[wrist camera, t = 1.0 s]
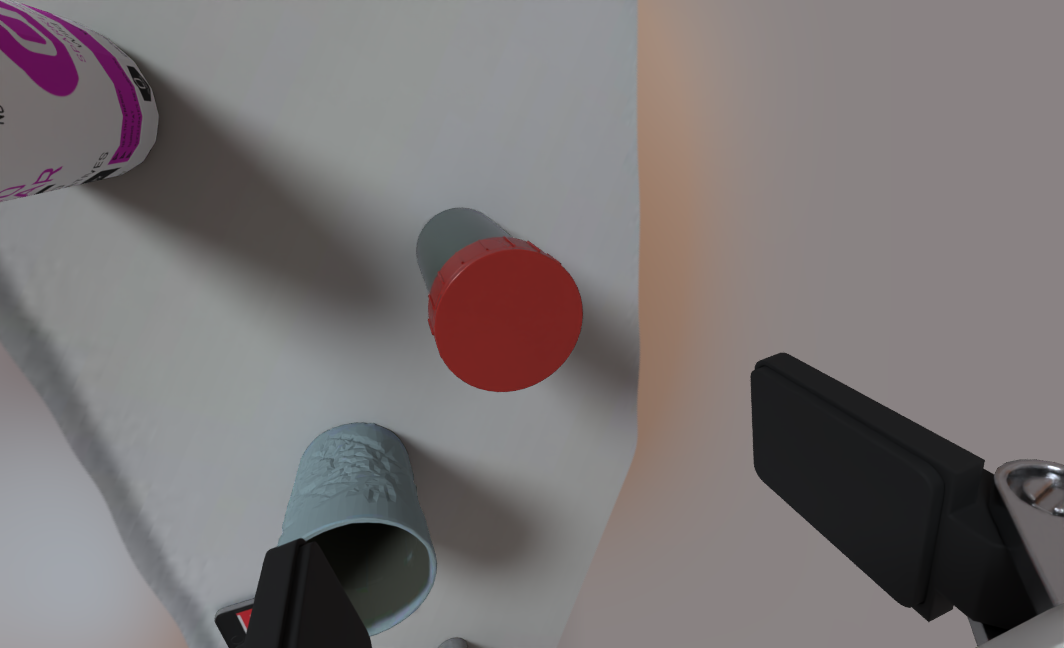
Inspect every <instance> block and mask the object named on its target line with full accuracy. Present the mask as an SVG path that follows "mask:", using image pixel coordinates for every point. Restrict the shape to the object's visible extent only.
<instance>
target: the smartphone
mask: <svg viewBox="0 0 1064 648" xmlns="http://www.w3.org/2000/svg"><path fill="white" fill-rule="evenodd" d="M254 599H255V598H254ZM254 599H251V600H247V601H244V602H241V603H238V604H234V605H231V606H228V607H225V608H222V609H220V610H219V611H218V612H217V613H216V616H215V623H216V625H217V627H218V629H219V631H220V632H221V634H222V636H223V638H224V640H225V642H226V644H227V645H228V647H229V648H236V647H237V646H238V645H241V644H243V643H244V640H245V636H246V632H247V628H248V624H249V620H250V616H251V612H252V607H253V603H254Z"/></svg>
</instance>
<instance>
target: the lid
mask: <svg viewBox="0 0 1064 648" xmlns="http://www.w3.org/2000/svg"><path fill="white" fill-rule="evenodd" d="M437 273H438V274H437V276H436V278H435V280H434V282H433V285H432V288H431V291H430V295H428V298H429V303H428V313H429V319H428V323H429V326H430V329H431V333H432V335H434V338H435V341H436V345H437V348H438V350H439V353H440V357H441V358H442V359H443V361H444V363H445V364H446V365H447V367H448V368H449V369H450V370H451V371H452V372H453V373H454V374H455V375H456V376H457V377H458V378H460V379H461V380H462V381H464V382H466V383H467V384H469V385H471V386H474V387H476V388H479V389H483V390H487V391H494V392H509V391H516V390H520V389H525V388H527V387H530V386H533V385H535V384H537V383H539V382H541V381H543V380H544V379H546V378H547V377H549V376H550V375H551V374H553V373H554V372H555V371H556V370H557V369H558V368H559V367H560V366H561V365H562V364H563V363H564V362H565V361H566V359H567V358H568V357H569V355H570V354H571V352H572V350H573V349H574V347H575V345H576V343H577V340H578V337H579V334H580V331H581V326H582V318H583V309H582V301H581V296H580V293H579V290H578V287H577V285H576V284H575V282H574V280H573V278H572V277H571V276H570V274H569V273H568V272H567V271H566V270H565V268H564V267H563V266H561V263H560V262H558V261H557V260H556V259H554V258H553V257H552V256H550V255H549V254H548V253H547V254H546V253H544V252H543V251H542V250H540V249H539V248H538V247H536V246H535V245H534V244H532V243H531V242H530V241H527V242H526V241H523V240H520V239H516V238H510V237H506V236H503V237H493V238H487V239H483V240H480V239H479V240H478V241H476V242H474V243H472V244H470V245H467V246H466V247H464V248H462V249H461V250H459V251H458V252H455V254H454V255H453V256H452V257H451V258H450V259H449V260H448V261H447V262H446V263H445V264H444V265H443V267H442V268H441V270H440V271H438V272H437Z"/></svg>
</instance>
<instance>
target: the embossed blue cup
mask: <svg viewBox="0 0 1064 648" xmlns="http://www.w3.org/2000/svg"><path fill="white" fill-rule="evenodd" d="M413 480H414V476H413V472H412V468H411V464H410V461H409V457H408V454H407V451H406V449H405V447H404V445H403V443H402V442H401V441H400V439H399V438H398V437H397V436H396V435H395V434H394V433H393V432H392V431H390V430H388V429H386V428H384V427H382V426H377V425H376V424H373V423H369V424H366V423H364V422H363V423H351V424H345V425H341V426H338V427H335V428H332V429H331V430H327V431H326V432H324V433H322V434H321V435H319V436H318V437H317V438H316V439H315V440H314V441H313V442H312V443H311V444H310V445H309V446H308V448H307V449H306V451H305V452H304V454H303V456H302V458H301V461H300V464H299V468H298V471H297V475H296V479H295V483H294V487H293V490H292V493H291V497H290V501H289V503H288V506H287V511H286V514H285V519H284V522H283V525H282V530H283V534H282V535H281V537H280V538H279V541H278V546H280V545H283V544H286V543H288V542H291V541H293V540H296V539H299V538H303V539H304V540H305V541H306V542H307V544H308V543H311V542H314V541H315V542H316V543H317V544H318V545H319V546H320V548H321V550H322V552H323V553H324V555H325V557H326V559H327V560H328V562H329V564H330V566H331V568H332V569H333V571H334V573H335V575H336V576H337V578H338V580H339V582H340V583H341V585H342V587H343V589H344V590H345V592H346V594H347V596H348V597H349V599H350V601H351V603H352V604H353V606H354V608H355V610H356V611H357V613H358V615H359V617H360V619H361V620H362V622H363V624H364V626H365V627H366V629H367V631H368V633H369V636H373V635H377V634H379V633H381V632H383V631H386V630H388V629H390V628H392V627H393V626H395V625H397V624H399V623H400V622H402V621H403V620H405V619H406V618H407V617H409V616H410V615H411V614H412V613H413V612H414V611H415V610H416V609H417V608H419V606H420V605H421V604H422V603H423V602H424V600H425V599H426V597H427V596H428V594H429V592H430V590H431V589H432V587H433V585H434V581H435V577H436V571H437V560H436V554H435V551H434V548H433V544H432V541H431V538H430V534H429V531H428V527H427V523H426V519H425V516H424V514H423V511H422V509H421V507H420V505H419V502H418V498H417V489H416V485H415V484H414V482H413ZM278 546H277V547H278Z"/></svg>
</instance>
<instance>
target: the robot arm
mask: <svg viewBox="0 0 1064 648" xmlns="http://www.w3.org/2000/svg"><path fill="white" fill-rule="evenodd" d="M751 402H752V428H753V451H754V452H753V455H754V467H755V470H756V472H757V474H758V476H759V477H760V479H761V480H762V481H763V482H764V483H765V484H766V485H767V486H769V487H770V488H771V489H772V490H773V491H774V492H775V493H776V494H777V495H779V496H780V497H781V498H782V499H783V500H784V501H785V502H786V503H788V504H789V505H790V506H791V507H792V508H793V509H794V510H795V511H796V512H798V513H799V514H800V515H801V516H802V517H803V518H804V519H805V520H806V521H808V522H809V523H810V524H811V525H812V526H813V527H814V528H815V529H816V530H818V531H819V532H820V533H821V534H822V535H823V536H824V537H826V538H827V539H828V540H829V541H830V542H831V543H832V544H833V545H834V546H835V547H837V548H838V549H839V550H840V551H841V552H842V553H843V554H844V555H846V556H847V557H848V558H849V559H850V560H851V561H852V562H853V563H854V564H856V565H857V566H858V567H859V568H860V569H861V570H862V571H863V572H864V573H865V574H867V575H868V576H869V577H870V578H871V579H872V580H873V581H874V582H875V583H877V584H878V585H879V586H880V587H881V588H882V589H883V590H884V591H886V592H887V593H888V594H889V595H890V596H891V597H892V598H894V600H896V601H897V602H898V603H900V604H901V605H903V606H905V607H908V608H911V607H912V608H913V609H914V610H916V611H917V612H918V613H919V614H920V615H921V616H922V617H924V618H925V619H926V620H927V621H928V622H930V621H931V620H934V619H935V618H937V617H939V616H941V615H943V614H945V613H947V612H948V611H950V610H952V609H953V605H954V606H955V607H957V608H958V609H959V610H960V611H962V612H963V613H964V614H965V615H966V616H967V617H968V620H969V622H970V625H971V628H972V631H973V634H974V637H975V640H976V643H977V646H978V647H976V648H1064V465H1062V464H1059V463H1055V462H1049V461H1043V460H1016V461H1011V462H1006V463H1005V464H1003V465H1002V466H1000V467H998V468H997V470H996V472H995V474H992V473H990V472H989V471H987V470H985V469H983V467H984V462H985V460H984V459H982V458H980V457H978V456H976V455H974V454H972V453H970V452H969V451H967V450H965V449H963V448H961V447H959V446H957V445H956V444H954V443H952V442H950V441H948V440H947V439H945V438H943V437H941V436H939V435H937V434H935V433H934V432H932V431H930V430H928V429H926V428H924V427H922V426H921V425H919V424H917V423H915V422H913V421H911V420H910V419H908V418H906V417H904V416H902V415H900V414H898V413H897V412H895V411H893V410H891V409H889V408H887V407H885V406H883V405H882V404H880V403H878V402H876V401H874V400H872V399H870V398H869V397H867V396H865V395H863V394H861V393H859V392H858V391H856V390H854V389H852V388H850V387H848V386H847V385H845V384H843V383H841V382H839V381H837V380H835V379H834V378H832V377H830V376H828V375H826V374H824V373H822V372H821V371H819V370H817V369H815V368H813V367H811V366H810V365H807V364H806V363H804V362H802V361H800V360H798V359H796V358H795V357H793V356H791V355H789V354H787V353H779V354H776V355H773V356H771V357H768V358H765V359H763V360H760V361H758V362H757V363H756V365H755V370H754V371H752V373H751ZM236 648H372V645H371V640H370V636H369V633H368V631H367V629H366V627H365V626H364V624H363V622H362V620H361V619H360V617H359V615H358V613H357V611H356V610H355V608H354V606H353V604H352V603H351V601H350V599H349V597H348V596H347V594H346V592H345V590H344V589H343V587H342V585H341V583H340V582H339V580H338V578H337V576H336V575H335V573H334V571H333V569H332V568H331V566H330V564H329V562H328V560H327V559H326V557H325V555H324V553H323V552H322V550H321V548H320V546H319V545H318V544H317V543H316V542H315V541H314V542H311V543H308V544H307V542H306V541H305V540H304V539H303V538H299V539H296V540H293V541H291V542H288V543H286V544H283V545H280V546H278V547H275V548H273V549H270V550H269V551H268V552H267V553H266V555H265V558H264V562H263V566H262V570H261V575H260V579H259V583H258V587H257V591H256V595H255V599H254V603H253V607H252V612H251V616H250V620H249V624H248V628H247V632H246V636H245V640H244V643H243V644H241V645H238V646H237V647H236Z"/></svg>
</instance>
